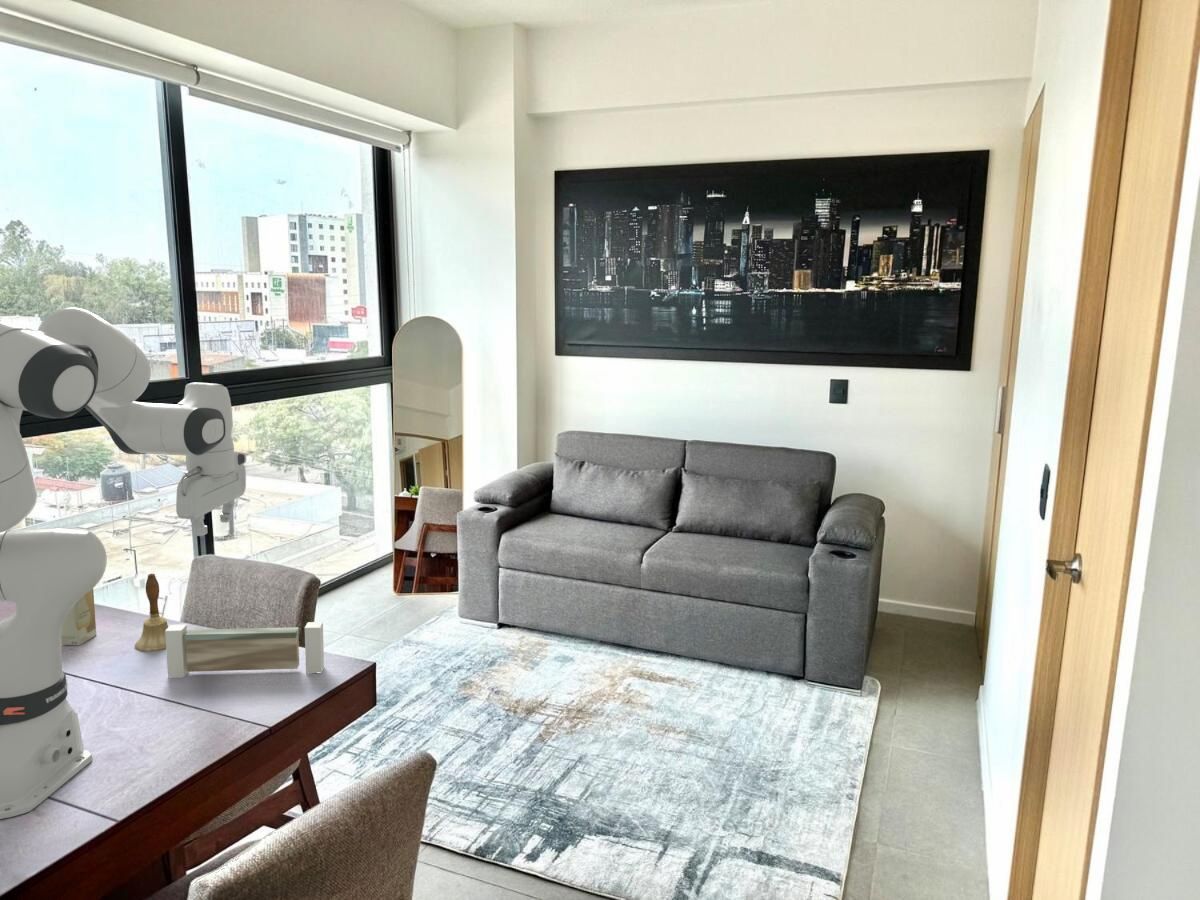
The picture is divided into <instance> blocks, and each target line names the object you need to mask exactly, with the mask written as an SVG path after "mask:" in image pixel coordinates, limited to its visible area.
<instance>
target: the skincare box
mask: <svg viewBox="0 0 1200 900" xmlns="http://www.w3.org/2000/svg"><path fill="white" fill-rule="evenodd" d="M95 635H96V636H97V623H96V610H95V596H94V588H93V589H91V590H90V591H89V592H87V593H86V594H84V595H83V596H82V597H81V598H80V599H79V600H78V601H77V602H76V603H75V604H74V606H73V607H72V608H71V610H70V611H69V613H68V615H67V617H66V619H65V622H64V624H63V628H62V635H61V646H62V645H64V646H65V645H66V646H67V645H68V646H70V645H71V646H81V645H82V644H84V643H86V642H87V641H90V639H92V638H94V637H95Z"/></svg>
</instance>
